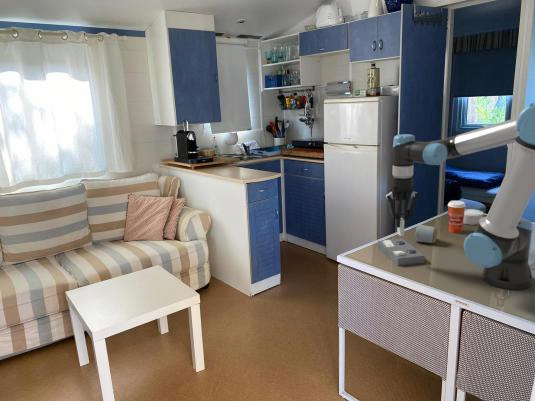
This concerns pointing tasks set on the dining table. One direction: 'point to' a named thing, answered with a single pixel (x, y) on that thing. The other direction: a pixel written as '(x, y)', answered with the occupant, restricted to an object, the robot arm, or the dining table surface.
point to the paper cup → (456, 216)
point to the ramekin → (472, 216)
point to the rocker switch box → (401, 245)
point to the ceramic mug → (425, 234)
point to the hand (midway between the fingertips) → (400, 234)
